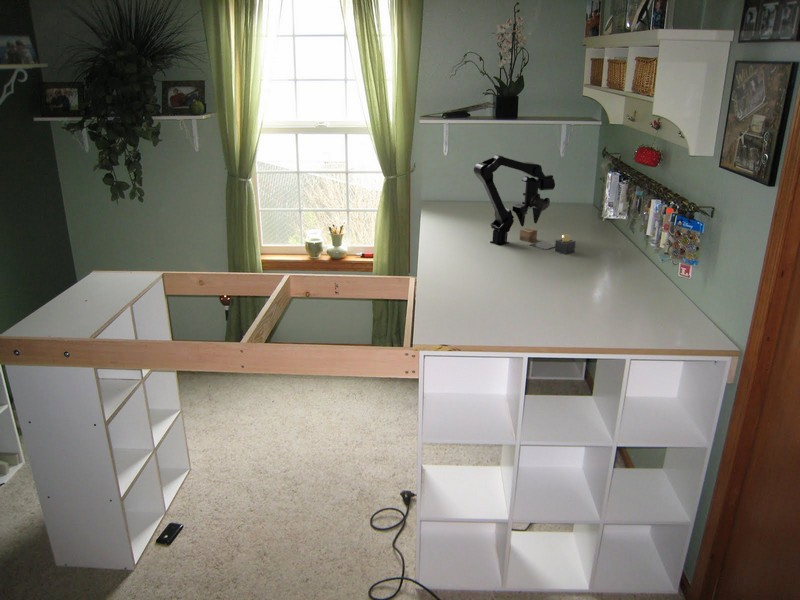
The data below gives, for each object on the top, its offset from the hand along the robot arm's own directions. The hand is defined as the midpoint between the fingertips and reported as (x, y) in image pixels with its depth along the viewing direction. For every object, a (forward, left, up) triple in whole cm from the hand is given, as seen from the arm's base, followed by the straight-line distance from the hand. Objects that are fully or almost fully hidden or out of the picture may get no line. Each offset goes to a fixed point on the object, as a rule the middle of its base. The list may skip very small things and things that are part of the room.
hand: (528, 224), depth 299 cm
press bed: (-2, -11, -7) cm, 13 cm away
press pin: (-2, -22, -5) cm, 23 cm away
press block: (-2, -23, -7) cm, 24 cm away
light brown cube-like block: (0, 0, -7) cm, 7 cm away
